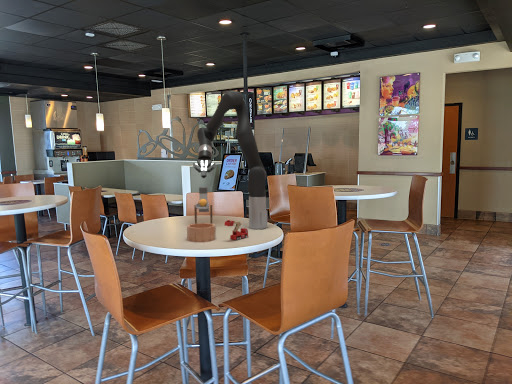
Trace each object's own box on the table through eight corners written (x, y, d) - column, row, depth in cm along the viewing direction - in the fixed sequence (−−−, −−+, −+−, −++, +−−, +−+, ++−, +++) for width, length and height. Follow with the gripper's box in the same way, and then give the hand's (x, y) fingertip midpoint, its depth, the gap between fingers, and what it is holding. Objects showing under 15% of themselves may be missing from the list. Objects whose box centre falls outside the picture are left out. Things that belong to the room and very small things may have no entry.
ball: (208, 206, 195) (208, 198, 195) (203, 206, 191) (203, 198, 192) (202, 207, 197) (202, 199, 197) (197, 206, 193) (197, 198, 194)
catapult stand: (193, 229, 205) (192, 203, 204) (215, 229, 206) (215, 203, 204) (190, 235, 191) (190, 207, 190) (214, 234, 192) (214, 206, 190)
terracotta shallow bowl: (220, 237, 185) (220, 224, 184) (203, 243, 174) (203, 229, 173) (199, 234, 191) (199, 222, 191) (181, 239, 180) (181, 226, 180)
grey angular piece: (198, 211, 204) (198, 187, 204) (210, 211, 205) (210, 186, 205) (195, 213, 186) (195, 186, 186) (208, 213, 186) (208, 186, 186)
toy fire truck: (249, 237, 186) (249, 217, 185) (229, 242, 176) (229, 221, 175) (243, 236, 188) (243, 216, 187) (224, 241, 178) (224, 220, 177)
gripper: (217, 159, 220) (216, 181, 209) (193, 158, 219) (191, 181, 208) (216, 149, 214) (215, 172, 203) (192, 149, 213) (190, 172, 202)
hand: (203, 177), depth 206 cm, fingers closed
